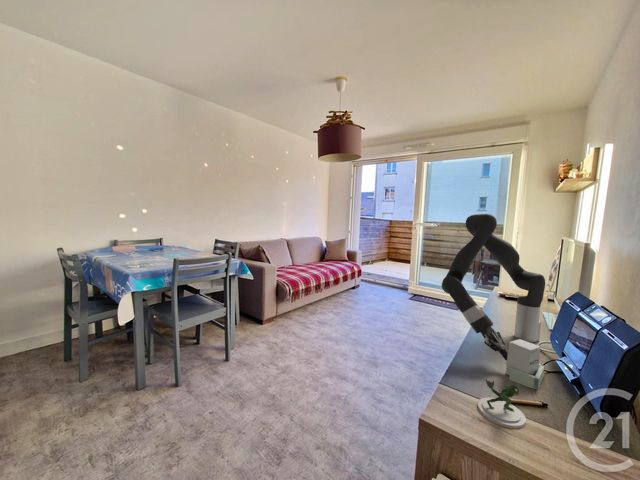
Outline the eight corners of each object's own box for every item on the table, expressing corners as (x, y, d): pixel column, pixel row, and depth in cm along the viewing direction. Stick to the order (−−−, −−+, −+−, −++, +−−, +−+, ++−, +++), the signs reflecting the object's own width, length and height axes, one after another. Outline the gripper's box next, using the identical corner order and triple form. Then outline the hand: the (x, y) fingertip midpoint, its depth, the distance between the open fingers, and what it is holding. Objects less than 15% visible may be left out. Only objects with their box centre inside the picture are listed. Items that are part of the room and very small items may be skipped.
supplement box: (526, 384, 97) (530, 350, 96) (505, 373, 104) (507, 341, 103) (538, 379, 100) (541, 346, 99) (516, 369, 107) (519, 338, 106)
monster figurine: (523, 435, 74) (527, 399, 73) (473, 413, 82) (476, 380, 81) (527, 412, 83) (530, 380, 82) (481, 395, 91) (484, 365, 90)
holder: (509, 379, 100) (510, 369, 100) (517, 366, 109) (518, 357, 109) (537, 390, 94) (538, 379, 94) (543, 375, 103) (544, 365, 103)
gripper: (479, 317, 106) (513, 361, 99) (490, 310, 115) (522, 350, 108) (463, 326, 111) (495, 368, 103) (475, 319, 120) (504, 357, 112)
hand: (509, 359), depth 105 cm, fingers closed
